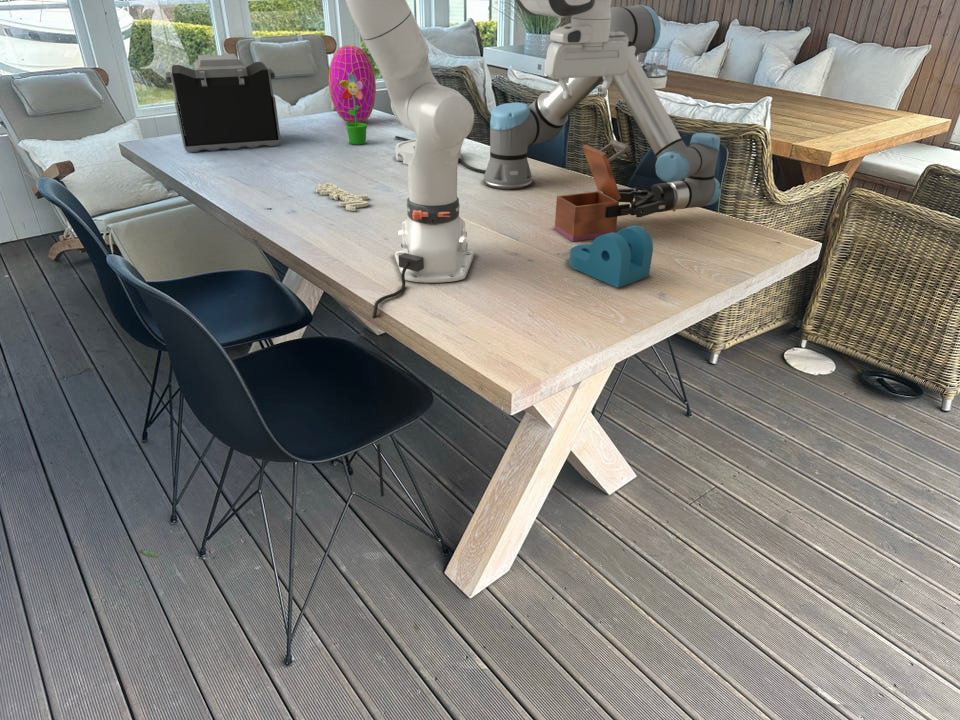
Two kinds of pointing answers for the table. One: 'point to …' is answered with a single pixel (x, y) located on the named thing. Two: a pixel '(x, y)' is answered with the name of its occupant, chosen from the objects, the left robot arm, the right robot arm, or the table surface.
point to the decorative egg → (361, 68)
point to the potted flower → (354, 129)
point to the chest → (584, 215)
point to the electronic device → (225, 104)
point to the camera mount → (615, 256)
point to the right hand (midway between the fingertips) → (596, 206)
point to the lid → (604, 167)
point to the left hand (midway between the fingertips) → (584, 97)
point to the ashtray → (407, 151)
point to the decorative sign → (343, 196)
